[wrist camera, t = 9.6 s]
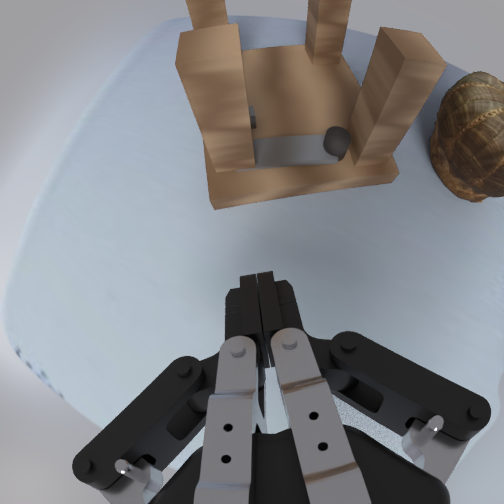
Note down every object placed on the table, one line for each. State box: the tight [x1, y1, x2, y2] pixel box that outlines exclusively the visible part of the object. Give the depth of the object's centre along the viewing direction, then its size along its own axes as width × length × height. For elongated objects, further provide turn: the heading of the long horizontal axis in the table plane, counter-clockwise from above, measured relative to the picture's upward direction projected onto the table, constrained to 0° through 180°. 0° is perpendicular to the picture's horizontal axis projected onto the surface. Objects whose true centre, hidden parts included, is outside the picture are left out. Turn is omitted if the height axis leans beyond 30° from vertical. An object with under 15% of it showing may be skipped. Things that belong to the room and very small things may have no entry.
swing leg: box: [175, 23, 351, 173], centre depth 16 cm, size 10×3×12 cm, turn 95°
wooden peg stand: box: [186, 0, 447, 210], centre depth 19 cm, size 16×18×14 cm
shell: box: [430, 71, 504, 202], centre depth 18 cm, size 11×11×12 cm
